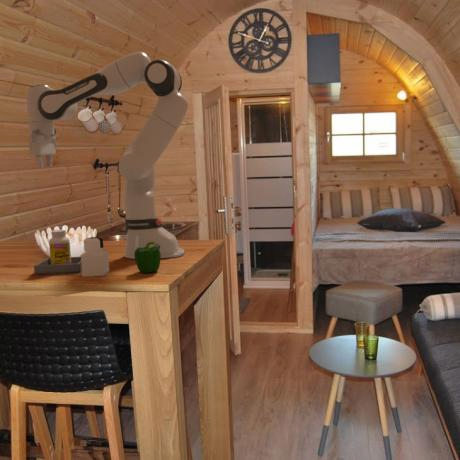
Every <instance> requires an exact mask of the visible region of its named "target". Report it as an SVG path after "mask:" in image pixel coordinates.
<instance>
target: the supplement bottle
mask: <svg viewBox="0 0 460 460" xmlns="http://www.w3.org/2000/svg"><path fill="white" fill-rule="evenodd" d="M50 231H51V232H50V233H51V238H50V239H49V241H48V242H49V243H48V246H49V256H50V257H49V258H51V265H53V264H71V257H72V256H71V255H72V254H71V243H70V239H69V237H67V236H66V234H67V231H66V229H55V230H50Z"/></svg>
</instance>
